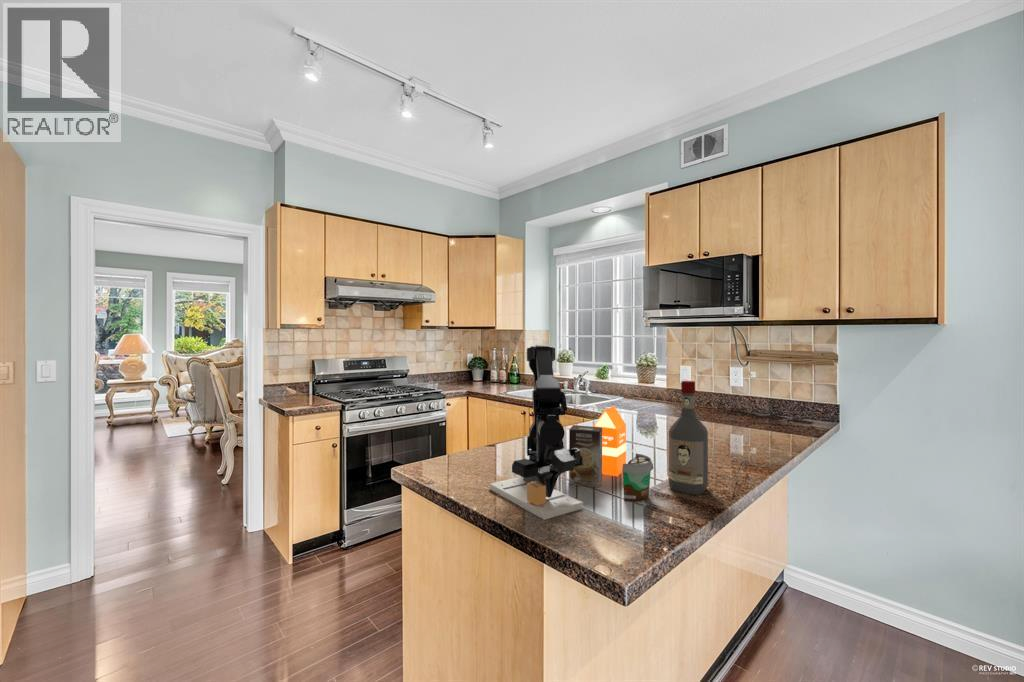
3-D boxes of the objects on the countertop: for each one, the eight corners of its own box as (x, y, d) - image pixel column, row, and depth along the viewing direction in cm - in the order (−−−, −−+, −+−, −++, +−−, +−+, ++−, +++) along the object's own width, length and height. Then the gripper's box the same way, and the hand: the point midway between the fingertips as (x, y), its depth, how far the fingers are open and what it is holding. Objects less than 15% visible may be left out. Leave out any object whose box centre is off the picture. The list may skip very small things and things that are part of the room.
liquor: (676, 481, 131) (675, 379, 131) (709, 487, 126) (709, 380, 126) (666, 490, 124) (666, 382, 123) (701, 496, 119) (701, 384, 118)
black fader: (531, 478, 129) (531, 462, 128) (539, 482, 125) (539, 466, 125) (523, 480, 127) (523, 464, 127) (531, 484, 124) (531, 467, 124)
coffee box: (567, 484, 129) (567, 429, 129) (572, 477, 135) (572, 424, 135) (600, 487, 126) (599, 431, 126) (603, 480, 132) (602, 426, 132)
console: (524, 481, 132) (524, 475, 132) (582, 508, 111) (582, 501, 111) (489, 489, 126) (489, 483, 126) (544, 519, 105) (544, 512, 105)
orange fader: (536, 498, 113) (536, 480, 113) (545, 503, 110) (545, 484, 110) (527, 500, 112) (527, 482, 112) (536, 505, 108) (536, 486, 108)
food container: (646, 507, 112) (646, 467, 112) (622, 502, 115) (622, 463, 115) (658, 492, 122) (658, 455, 122) (636, 488, 126) (636, 452, 125)
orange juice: (626, 469, 143) (626, 406, 143) (617, 476, 136) (617, 411, 136) (603, 465, 148) (603, 404, 147) (592, 472, 140) (592, 408, 140)
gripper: (537, 447, 101) (538, 516, 101) (597, 436, 111) (598, 498, 111) (510, 438, 110) (510, 501, 110) (568, 428, 120) (568, 486, 121)
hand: (548, 496), depth 113 cm, fingers closed
